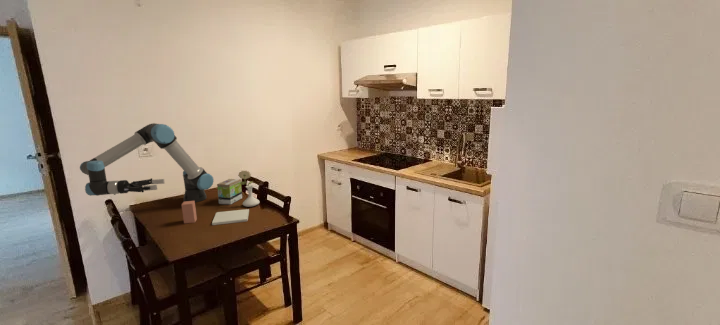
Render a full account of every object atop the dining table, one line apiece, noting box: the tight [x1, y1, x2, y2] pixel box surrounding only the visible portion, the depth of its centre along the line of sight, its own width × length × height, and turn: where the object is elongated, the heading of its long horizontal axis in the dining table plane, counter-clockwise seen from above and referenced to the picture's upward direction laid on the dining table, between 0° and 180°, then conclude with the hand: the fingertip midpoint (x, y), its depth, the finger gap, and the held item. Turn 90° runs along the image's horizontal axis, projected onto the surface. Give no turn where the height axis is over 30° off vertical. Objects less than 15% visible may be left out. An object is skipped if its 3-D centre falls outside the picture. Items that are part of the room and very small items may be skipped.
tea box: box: [216, 178, 243, 205], centre depth 238 cm, size 15×10×15 cm, turn 168°
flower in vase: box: [238, 170, 260, 208], centre depth 228 cm, size 13×11×25 cm
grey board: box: [211, 208, 250, 226], centre depth 208 cm, size 18×20×2 cm
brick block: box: [181, 201, 198, 225], centre depth 203 cm, size 6×6×12 cm
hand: (160, 184), depth 195 cm, fingers open, 13 cm apart
